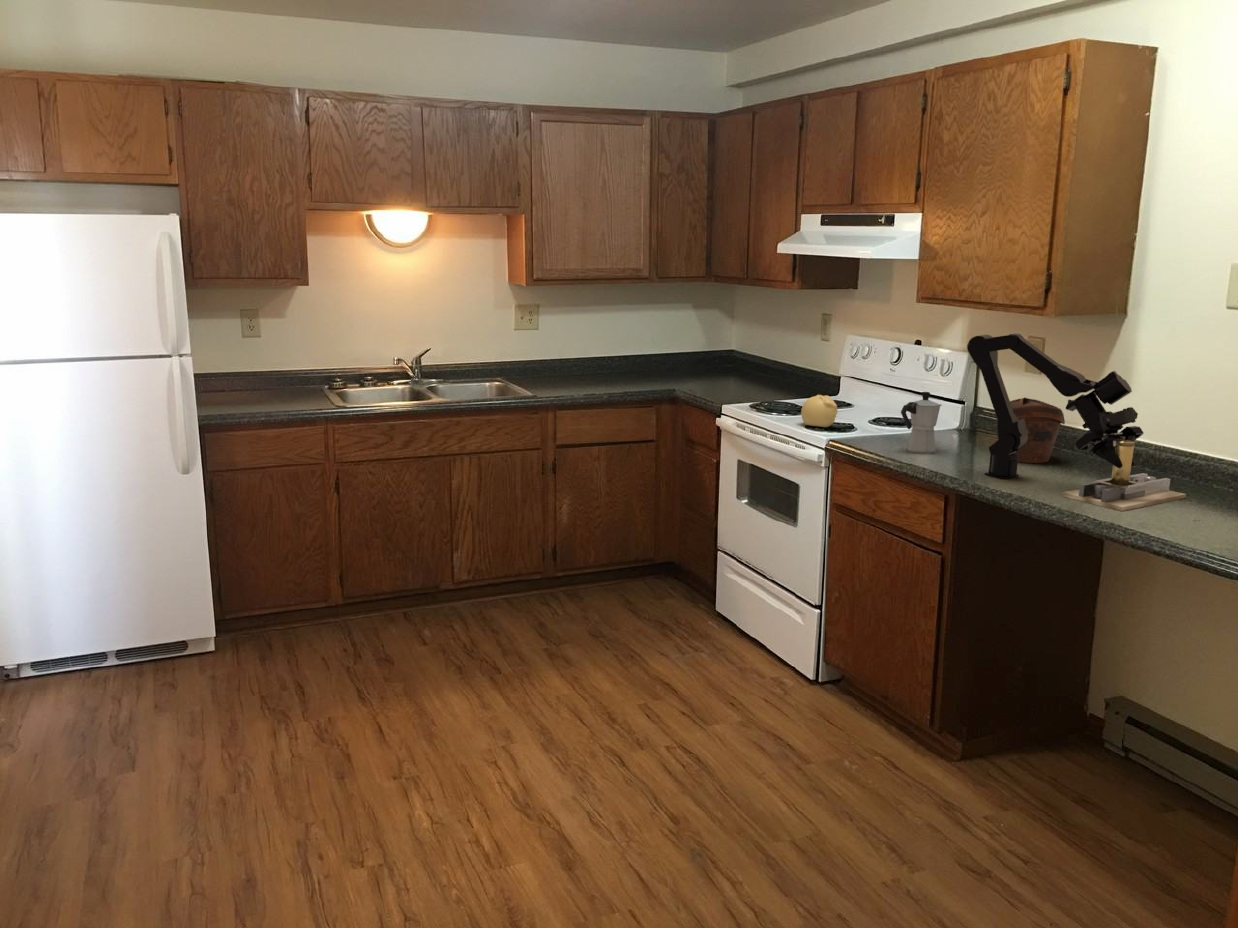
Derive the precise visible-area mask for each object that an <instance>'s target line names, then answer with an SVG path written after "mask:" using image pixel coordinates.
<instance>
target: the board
mask: <svg viewBox="0 0 1238 928" xmlns="http://www.w3.org/2000/svg"><path fill="white" fill-rule="evenodd" d="M1079 489H1080V488H1078V489H1074V490H1073V489H1072V490H1067V491H1062V493H1061V496H1062V497H1064V498H1068V499H1071V500H1076V501H1080V502H1082V503H1083V502H1084V503H1086V504H1087V503H1088V504H1091V505H1095V506H1098V507H1099V506H1100V507H1104V508H1108V509H1112V510H1117V511H1120V512H1124V511H1129V510H1134V509H1138V508H1144V507H1148V506H1153V505H1157V504H1158V505H1159V504H1162V503H1163V504H1164V503H1168V502H1171V501H1178V500H1182V499H1186V495H1187V494H1186V493H1182V492H1178V491H1174V490H1170V489H1169V490H1168V491H1163V492H1158V493H1153V494H1148V495H1145V496H1143V497H1138V498H1133V499H1128V500H1117V501H1112V502H1107V503H1104V502H1101V499H1095V498H1093V495H1092V496H1087V497H1080V496H1079Z"/></svg>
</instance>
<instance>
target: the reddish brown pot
mask: <svg viewBox="0 0 1238 928" xmlns="http://www.w3.org/2000/svg"><path fill="white" fill-rule="evenodd" d="M1010 403H1011V406H1012V409H1013V412H1014V414H1015V416H1016V417H1017V418H1018V420H1021V419H1024V420H1025V425H1026V428H1027V430H1028V431H1029V433H1027V435H1028V440H1027V442H1026V443H1025V444H1024V445H1023V446H1022V447H1020V448H1019V450H1018V452H1016V453H1014V454H1015V455H1017V461H1018V462H1019V463H1029V464H1042V463H1047V462H1049V460H1050V459H1051V454H1052V451H1053V449H1054V446H1055V444H1056V439H1057V437H1058V433H1059V431H1060V428H1061V427H1060V426H1061V425H1066V422H1065V415H1064V412H1063V410H1062V408H1059V407H1057V406H1055V405H1052V404H1051V403H1047V402H1044V401H1042V400H1038V399H1034V398H1028V397H1026V396H1025V397H1023V398H1022V397H1021V398H1017V399H1013V400H1010Z"/></svg>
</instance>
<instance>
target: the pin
mask: <svg viewBox="0 0 1238 928" xmlns="http://www.w3.org/2000/svg"><path fill="white" fill-rule="evenodd" d="M1135 443H1136V441H1131V440H1116V448H1115V451H1116V453H1117V455H1118V456H1119V458H1120V460H1121V463H1122V465H1123V467H1121V468H1118V467H1116V466H1114V465H1113V464H1112V471H1111V477H1110V478H1111V483H1112V484H1116V485H1120V486H1128V485H1129V478H1130V475H1131V469H1132V467H1131V464H1132V457H1133V458H1134V456H1133V455H1134V448H1135Z"/></svg>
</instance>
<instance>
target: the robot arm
mask: <svg viewBox="0 0 1238 928" xmlns="http://www.w3.org/2000/svg"><path fill="white" fill-rule="evenodd" d="M966 347H967V348H966V349H967V352H968V354H969V355H970V358H971V360H972V361H973V363H974V364H975V365H976V366H977V367H978V369H979V370H980V372H981V375H982V378H983V381H984V383H985V386H986V390H987V393H988V396H989V399H990V402H991V405H992V408H993V412H994V413H995V417H996V419H997V421H996V423H997V424H996V426H997V427H996V433H997V441H995V442H994V443H992V444H991V445H990V446H989V447H988V449H989V454H990V455H989V463H988V464H989V466H988V471H984V475H986V476H991V477H995V478H999V479H1003V480H1005V479H1011V478H1017V477H1019V476H1020V474H1017V473H1018V472H1017V471H1018V461H1017V455H1015V454H1014V453H1016V452H1018V450H1019V448H1020V447H1022V446H1023V445H1024V444H1025V443H1026V442H1027V440H1028V435H1027V433H1029V431H1028V430H1027V428H1026V425H1025V420H1024V419H1021V420H1018V418H1017V417H1016V416H1015V414H1014V412H1013V409H1012V406H1011V403H1010V401H1011V400H1010V397H1009V394H1008V391H1007V388H1006V385H1005V382H1004V379H1003V378H1002V374H1001V371H1000V368H999V364H998V363H999V362H998V360H999V357H998V356H999V353H998V351H1004V350H1011V351H1012V352H1013V353H1015V354H1017V355H1018V357H1019V356H1020V358H1022V359H1023V360H1024V361H1025V362H1027V363H1028V364H1030V365H1031V366H1032V367H1033V368H1036V370H1038V371H1039V372H1040V373H1041V374H1043V375H1044V376H1045V377H1046V378H1047V379H1048V380H1049V382H1050V383H1051V385H1052V386H1053V387H1054V388H1055V389H1056V390H1057V392H1059V393H1060V395H1062V396H1064V397H1066V398H1067V397H1074V396H1077V395H1079V394H1081V393H1082V394H1081V395H1079V396H1077V397H1075V399H1067V404H1066V406H1065V410H1067V411H1070V412H1074V411H1077V413H1078V414H1079V416H1080V418H1081V419H1082V421H1083V422H1084V423H1083V424H1082V428H1083V429H1084V430H1085V429H1088V430H1086V431H1085V432H1084V433H1083V434H1082V435H1080V436H1079V437H1078V438H1077V439H1076V440H1075V443H1074V446H1075V448H1076V449H1077V451H1078V452H1086V451H1087V450H1088V448H1089V447H1088V445H1089V444H1090V445H1091V447H1092V448H1091V449H1090V450H1089V452H1090V453H1092V454H1094V455H1096V456H1097V457H1100V458H1102V459H1103V460H1105V461H1106V462H1108V463H1109V464H1111V465H1112V466H1113V465H1114V466H1116V467H1118V468H1121V467H1123V465H1122V463H1121V460H1120V458H1119V456H1118V455H1117V453H1116V451H1115V448H1116V440H1131V441H1134V442H1136V440H1137V439H1139V438H1140V437H1142V436H1143V435H1144V431H1143V429H1142V428H1141V427H1140V426H1137V425H1132V426H1125V427H1124V425H1127V424H1130V423H1131V424H1134V423H1136V422H1137V421H1136V420H1137V419H1138V415H1139V414H1138V412H1137V410H1136V409H1135V408H1133V407H1132V406H1130V407H1127V408H1123V409H1122V410H1118V411H1115V412H1112V411H1107V410H1106V409H1105V407H1104V405H1106V404H1108V405H1111V406H1112V405H1114V404H1115V403H1117V402H1118V401H1120V400H1122V399H1123V398H1124V397H1126V396H1128V395H1130V394H1131V393H1132V392H1133V390H1132V387H1131V386H1130V384H1129V382H1128V381H1127V380H1126V379H1124V378H1123V377H1122V376H1121V375H1119V374H1118V373H1117V371H1116V370H1113V371H1111V372H1109V373H1108V374H1107V375H1106V376H1105V377H1103V378H1102V379H1099V381H1095V380H1091V379H1088V378H1086V377H1085V375H1083V374H1082V373H1080V372H1079V371H1076V370H1074V369H1072V368H1070V367H1067V366H1064V365H1062V364H1060V363H1058V362H1057V361H1055V360H1054V359H1053V358H1051V357H1050V356H1048V355H1047V354H1046V353H1044V351H1042V350H1041V349H1039V348H1038V347H1037V346H1035V345H1034V344H1032V343H1031V342H1030V341H1029V340H1027V339H1026V338H1025V337H1024V336H1023V335H1022V334H1020V333H1010V334H1007V335H1001V336H1000V335H999V336H992V335H990V334H985V333H984V334H980V335H976V336H972V338H970V339H969V341H968V343H967V345H966ZM1084 393H1087V394H1084ZM1103 404H1104V405H1103ZM1133 466H1135V460H1134V456H1133V457H1132V464H1131V468H1133Z"/></svg>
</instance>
